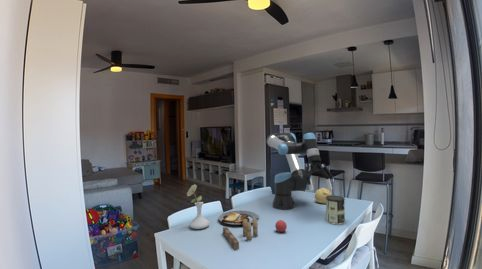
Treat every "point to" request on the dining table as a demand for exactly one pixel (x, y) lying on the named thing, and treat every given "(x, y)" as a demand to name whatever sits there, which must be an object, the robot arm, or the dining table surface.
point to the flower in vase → (199, 220)
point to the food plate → (237, 217)
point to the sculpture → (322, 195)
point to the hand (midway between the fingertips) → (321, 190)
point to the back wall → (231, 238)
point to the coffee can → (335, 209)
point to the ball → (280, 226)
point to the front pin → (255, 228)
